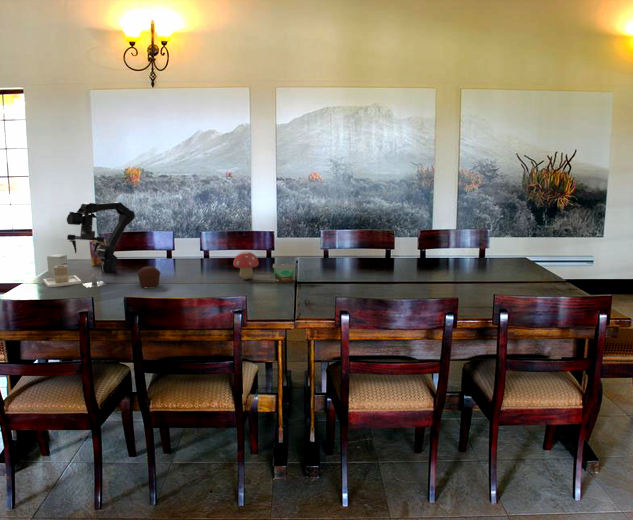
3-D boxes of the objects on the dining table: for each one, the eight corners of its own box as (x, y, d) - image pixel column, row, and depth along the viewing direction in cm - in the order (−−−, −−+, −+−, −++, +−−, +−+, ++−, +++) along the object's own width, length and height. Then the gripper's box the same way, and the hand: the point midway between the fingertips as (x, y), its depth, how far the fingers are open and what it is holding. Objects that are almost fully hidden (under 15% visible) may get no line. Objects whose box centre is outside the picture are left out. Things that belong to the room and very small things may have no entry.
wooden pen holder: (68, 280, 304) (67, 264, 303) (67, 282, 299) (66, 267, 297) (56, 281, 302) (55, 265, 301) (55, 283, 297) (53, 267, 295)
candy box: (107, 263, 353) (105, 239, 350) (106, 265, 348) (104, 240, 346) (92, 264, 350) (90, 239, 347) (91, 266, 346) (89, 241, 343)
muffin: (165, 284, 298) (164, 265, 296) (154, 289, 287) (153, 269, 285) (144, 283, 300) (143, 264, 298) (133, 288, 290) (132, 268, 288)
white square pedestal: (102, 282, 303) (101, 271, 302) (106, 285, 295) (106, 275, 294) (82, 284, 297) (81, 274, 296) (86, 288, 289) (85, 277, 288)
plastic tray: (75, 278, 311) (75, 275, 311) (81, 284, 298) (81, 280, 298) (43, 282, 303) (42, 279, 302) (48, 288, 290) (47, 284, 289)
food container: (277, 284, 295) (277, 265, 293) (272, 282, 301) (272, 263, 299) (299, 282, 301) (298, 263, 299) (294, 279, 306) (293, 261, 304)
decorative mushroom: (234, 282, 300) (233, 254, 298) (233, 277, 313) (232, 250, 311) (259, 281, 302) (259, 253, 300) (258, 276, 315) (257, 249, 313)
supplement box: (60, 279, 310) (58, 256, 308) (48, 279, 311) (46, 256, 309) (69, 276, 317) (67, 254, 315) (57, 276, 319) (55, 253, 316)
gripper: (68, 224, 303) (66, 253, 304) (105, 227, 310) (103, 256, 311) (68, 224, 313) (66, 252, 314) (104, 226, 321) (102, 254, 321)
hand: (85, 254), depth 315 cm, fingers open, 9 cm apart
